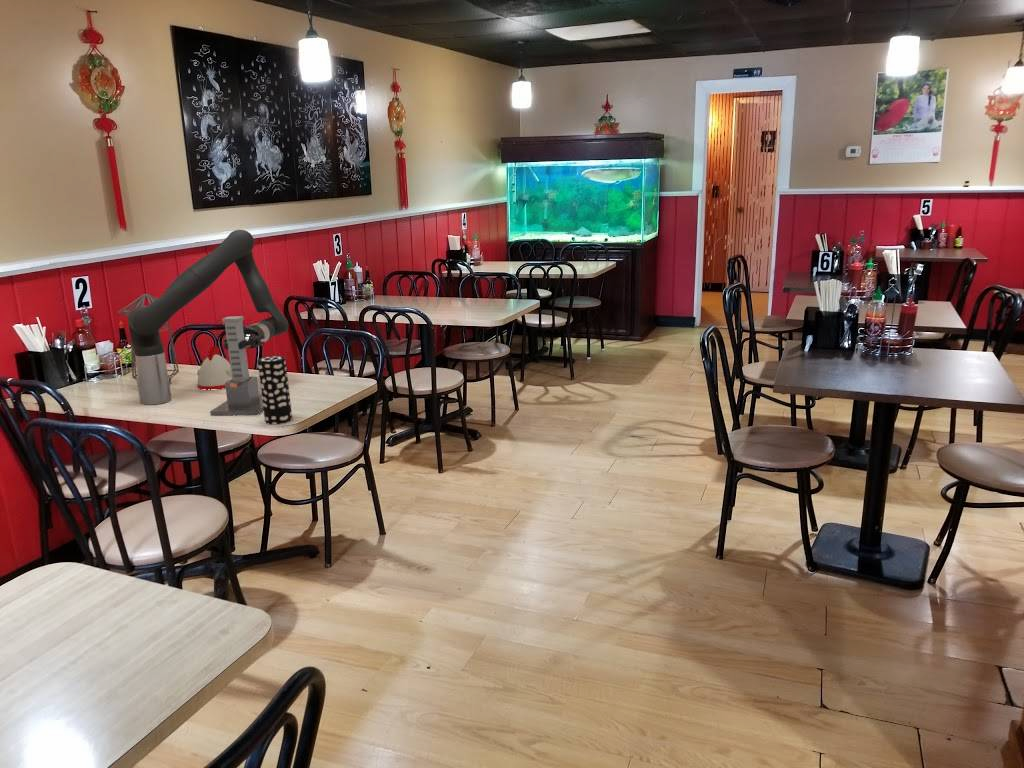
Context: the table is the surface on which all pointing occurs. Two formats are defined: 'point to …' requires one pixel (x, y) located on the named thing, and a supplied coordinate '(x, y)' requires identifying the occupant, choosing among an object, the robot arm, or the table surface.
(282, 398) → the white-spotted black cylinder
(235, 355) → the stand post
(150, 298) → the geometric lantern
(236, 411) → the stand base
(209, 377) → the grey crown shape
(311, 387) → the table surface
